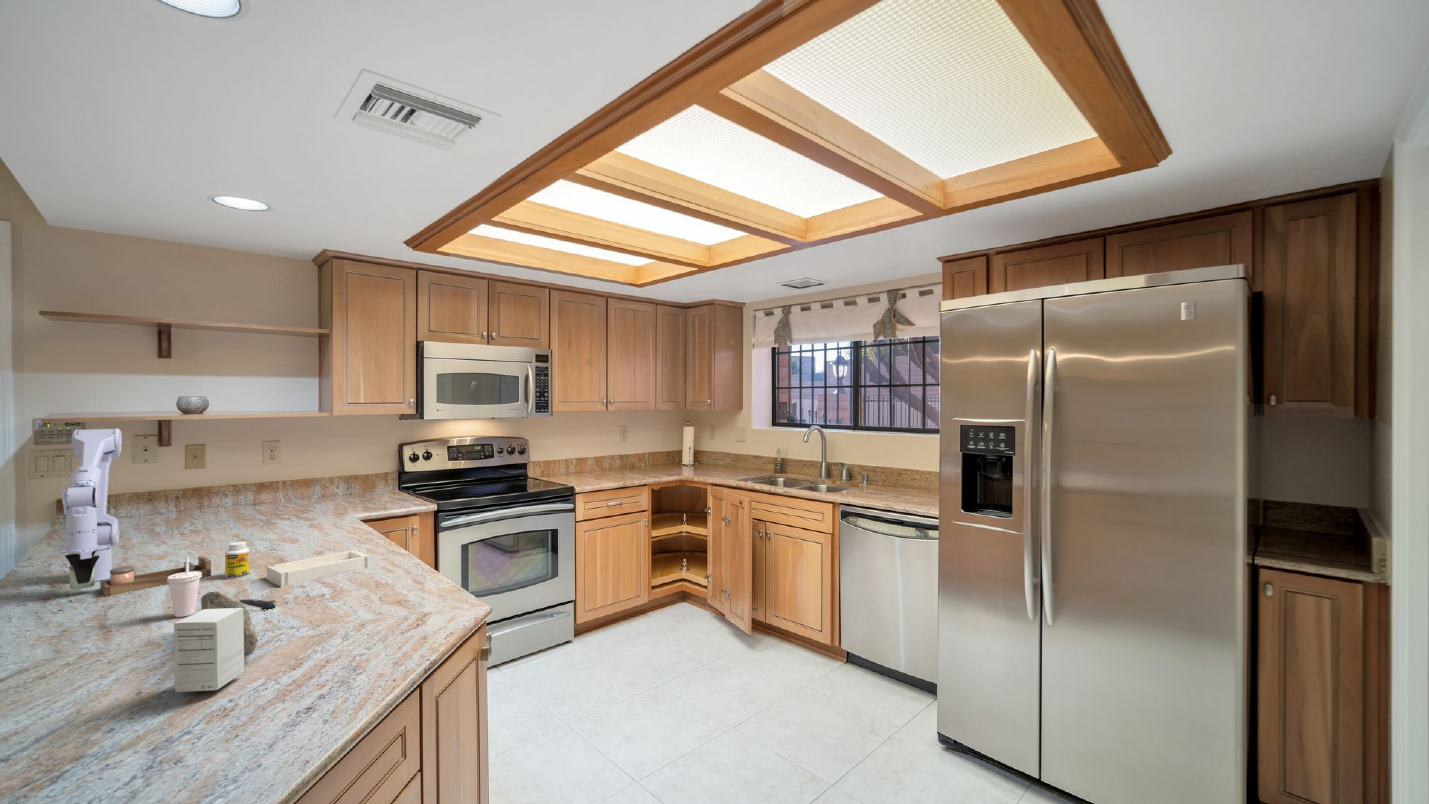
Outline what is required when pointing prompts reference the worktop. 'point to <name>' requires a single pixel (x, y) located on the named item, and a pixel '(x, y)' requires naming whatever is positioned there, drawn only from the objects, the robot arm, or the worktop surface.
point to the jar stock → (121, 575)
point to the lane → (153, 579)
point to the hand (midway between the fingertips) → (82, 581)
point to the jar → (75, 584)
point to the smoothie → (184, 591)
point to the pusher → (191, 567)
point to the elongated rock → (221, 601)
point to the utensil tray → (317, 568)
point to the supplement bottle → (237, 561)
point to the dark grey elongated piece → (260, 603)
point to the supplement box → (208, 649)
